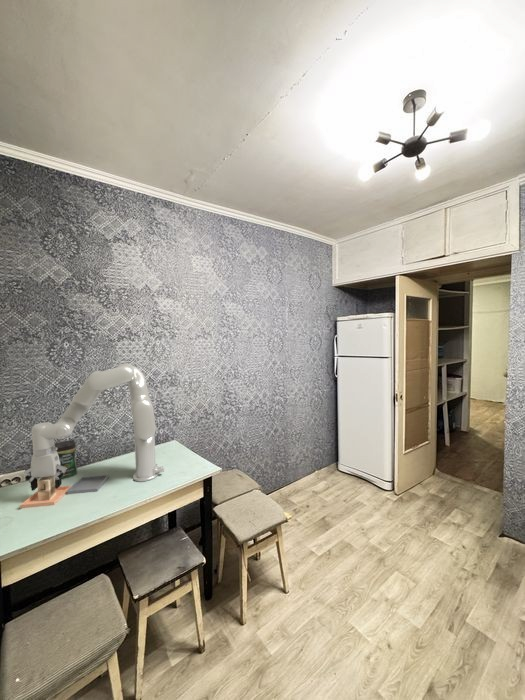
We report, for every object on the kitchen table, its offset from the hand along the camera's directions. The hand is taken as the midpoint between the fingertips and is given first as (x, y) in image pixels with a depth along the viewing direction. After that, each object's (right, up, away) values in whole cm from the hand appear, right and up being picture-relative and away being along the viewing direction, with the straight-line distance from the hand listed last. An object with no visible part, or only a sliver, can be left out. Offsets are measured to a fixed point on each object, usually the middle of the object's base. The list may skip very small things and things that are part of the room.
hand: (46, 488), depth 124 cm
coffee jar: (-6, -4, +21) cm, 22 cm away
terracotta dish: (0, -5, 0) cm, 5 cm away
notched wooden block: (0, -4, 0) cm, 4 cm away
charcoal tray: (+13, -4, +10) cm, 17 cm away
